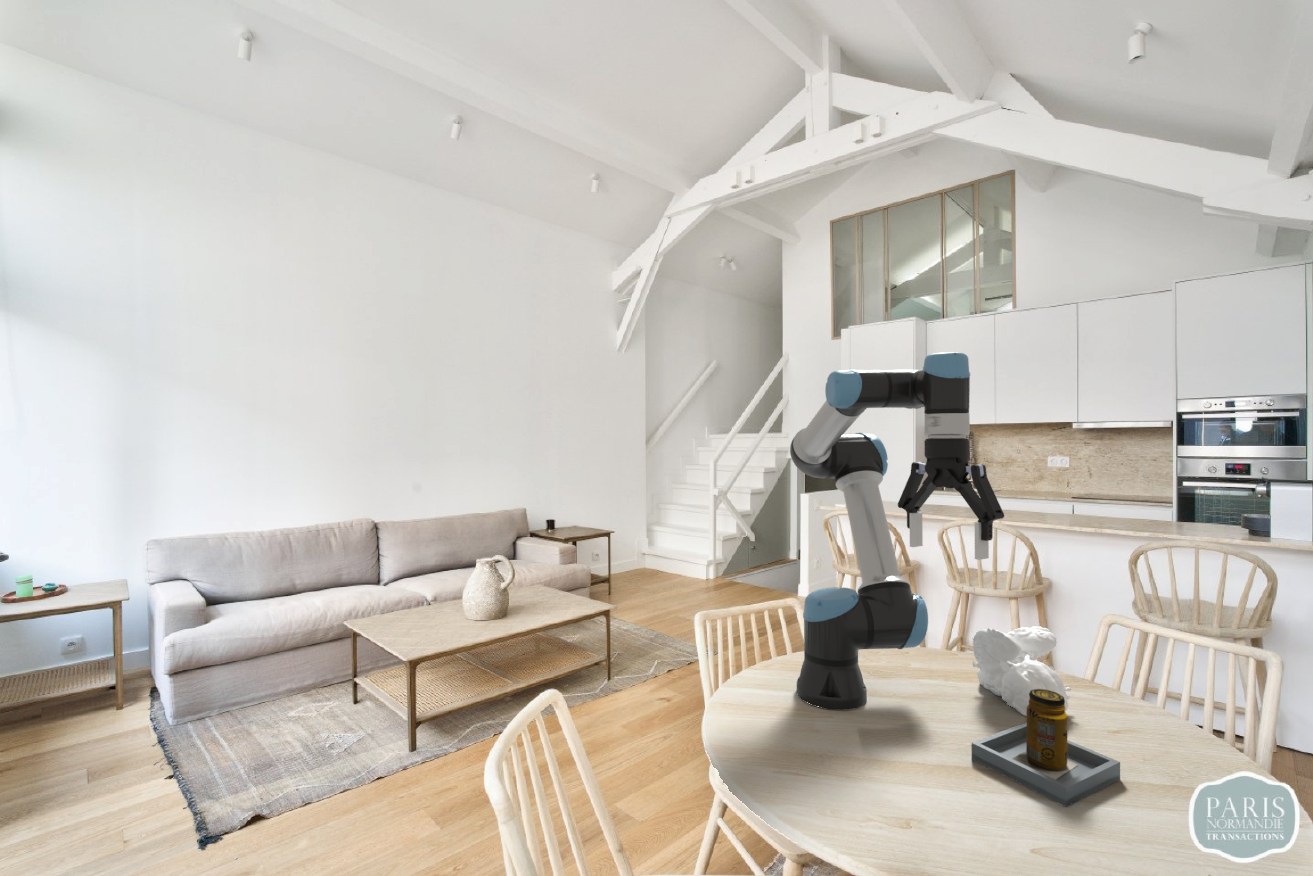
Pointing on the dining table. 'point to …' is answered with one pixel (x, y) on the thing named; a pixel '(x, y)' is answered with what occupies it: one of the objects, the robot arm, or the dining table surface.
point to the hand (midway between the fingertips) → (947, 552)
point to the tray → (1064, 790)
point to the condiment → (1046, 734)
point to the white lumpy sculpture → (1016, 664)
